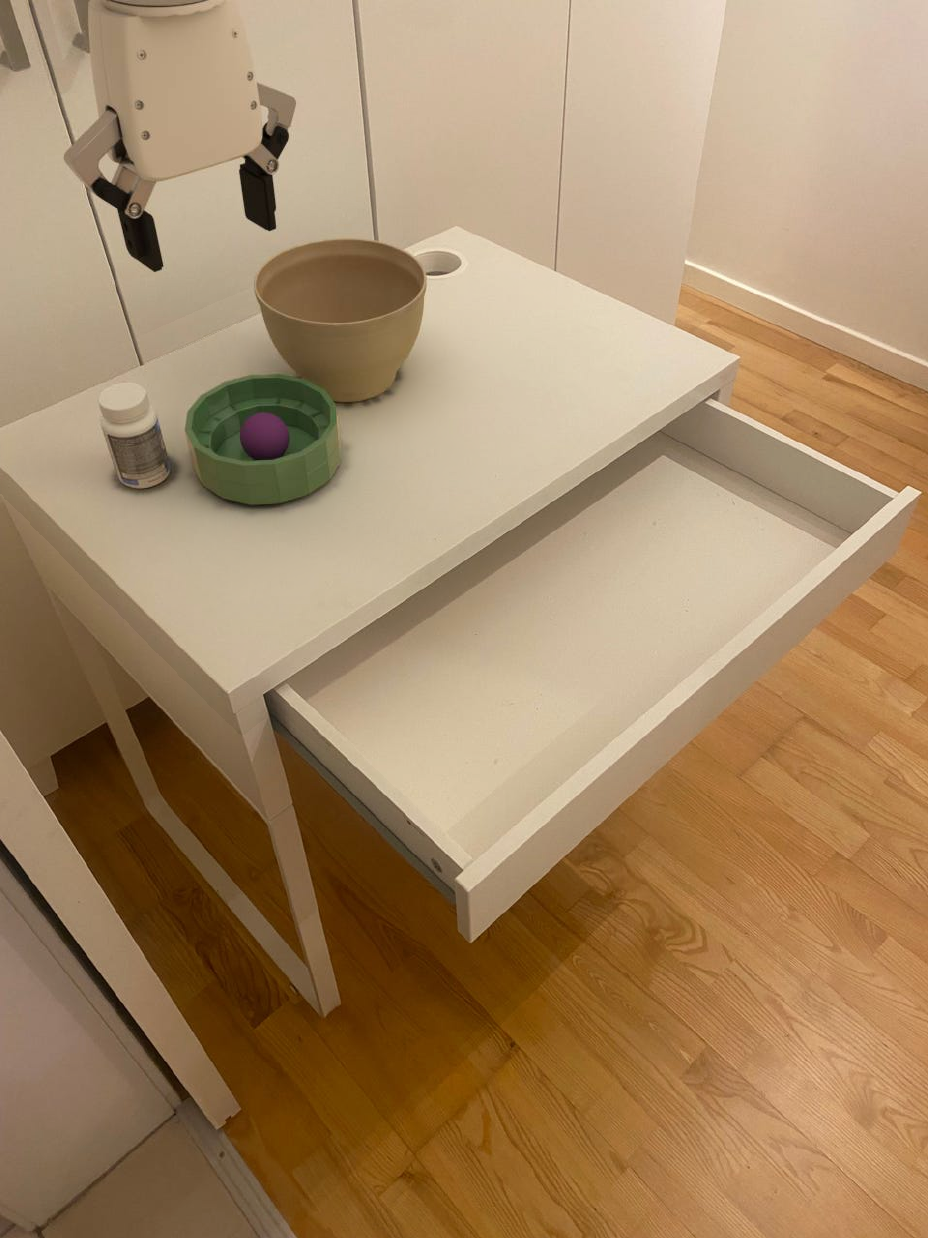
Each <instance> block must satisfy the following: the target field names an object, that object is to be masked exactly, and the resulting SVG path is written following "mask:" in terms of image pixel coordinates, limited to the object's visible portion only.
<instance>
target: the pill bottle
mask: <svg viewBox="0 0 928 1238" xmlns="http://www.w3.org/2000/svg"><path fill="white" fill-rule="evenodd" d="M97 402H98V406H99V409H100V412H101V418H100V427H101V430H102V433H103V436H104V438H105V442H106V445H107V449H108V451H109V453H110V457H111V460H112V463H113V467H114V470H115V472H116V475H117V478H118V479H119V481H120V482H121V484H122V485H125V486H126V487H129V488H132V489H148V488H151V487H154V486H157V485H159V484H161V483H162V482H163V481H165V480H166V479H167V478H168V476H169V475H170V472H171V462H170V458H169V455H168V451H167V448H166V445H165V444H166V443H165V441H164V436H163V433H162V430H161V425H160V422H159V417H158V415H157V414H158V413H157V412H156V410H155V408H154V407H153V406H152V405H150V399H149V397H148V394H147V391H146V390H145V388H144V387H143V386H142V385H141V384H138V383H135V382H127V381H126V382H119V383H114V384H111V385H109V386H107V387H106V388H104V389H103V390H102V391H101V392H100V393H99V395H98V397H97Z"/></svg>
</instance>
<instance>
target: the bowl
mask: <svg viewBox="0 0 928 1238" xmlns="http://www.w3.org/2000/svg"><path fill="white" fill-rule="evenodd" d="M262 412H266V413H271V414H274V415H276V416H278V417H279V418H280V419H281V420H282V421H283V422H284V423H285V424H286V426H287V428H288V431H289V436H290V440H289V445H288V448H287V450H286V452H285V453H284V454H283V455H282V456H281V457H280V458H277V459H274V460H258V461H257V460H255V459H253V458H251V457H250V456H249V455H248V454H247V453H246V452H245V451H244V449H243V447H242V445H241V442H240V431H241V428H242V425H243V424H244V422H245V421H246V420H247V419H248V418H249V417H250V416H252V415H254V414H257V413H262ZM339 427H340V426H339V416H338V407H337V403H335V401H333V400H332V399H331V397H330V396H329V395H328V393H327V392H326V391H325V390H324V389H322V388H320V387H319V386H317V385H315V384H313V383H311V382H309V381H307V380H306V379H302V378H301V377H297V376H292V375H287V374H281V373H271V374H270V373H268V374H267V373H266V374H263V373H262V374H250V375H246V376H241V377H238V378H235V379H231V380H227V381H224V382H222V383H220V384H218V385H215V386H214V387H213V388H211V389H209V390H208V391H206V392H204V393H202V394H201V395H200V396H199V397H198V398H197V399H196V400H195V402H194V403H193V404H192V405H191V407H190V408H189V409H188V410H187V411H186V418H185V426H184V434H185V437H186V442H187V447H188V450H189V454H190V458H191V461H192V467H193V470H194V471H195V473H196V475H197V477H198V479H199V481H200V483H201V484H202V486H203V487H205V488H206V489H208V490H209V491H210V492H212V493H214V494H215V495H217V496H218V497H220V498H222V499H224V500H227V501H228V500H229V501H233V502H237V503H241V504H246V505H253V506H254V505H270V504H271V505H272V504H283V503H285V502H288V501H292V500H294V499H298V498H301V497H305V496H308V495H310V494H312V493H313V492H314V491H316V490H317V489H318V488H320V487H321V486H323V485H324V484H326V483H327V482H328V481H330V480H331V478H332V476H333V475H334V474H335V472H336V470H337V468H338V467H339V465H340V464H341V461H342V460H341V459H342V458H341V456H342V455H341V438H340V437H341V436H340V428H339Z"/></svg>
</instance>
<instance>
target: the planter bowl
mask: <svg viewBox="0 0 928 1238" xmlns="http://www.w3.org/2000/svg"><path fill="white" fill-rule="evenodd" d="M427 285H428V276H427V272H426V269H425V267H424V265H423V264H422V262H421V261H420V260H419V259H418V258H417V257H416V256H414V255H413V254H412V253H410V252H409V251H407V250H406V249H403V248H401V247H399V246H396V245H393V244H390V243H387V242H384V241H380V240H374V239H368V238H357V237H338V238H327V239H320V240H319V239H318V240H314V241H313V240H312V241H308V242H304V243H300V244H298V245H294V246H292V247H289V248H286V249H284V250H282V251H280V252H278V253H276V254H275V255H273V256H272V257H270V258H269V259H267V260H266V261H265V262H264V263H262V264H261V266H260V267H259V269H258V270H257V272H256V274H255V277H254V280H253V288H254V289H253V290H254V295H255V297H256V300H257V303H258V305H259V309H260V312H261V313H260V314H261V316H262V320H263V323H264V326H265V329H266V330H267V331H266V332H267V334H268V337H269V338H270V340H271V342H272V344H273V345H274V347H275V349H276V351H277V353H279V355H280V357H281V358H282V359H283V361H284V362H285V363H286V364H287V365H288V366H289V367H290V368H291V370H292V371H293V372H295V374H296V375H298V376H299V378H302V379H306V380H307V381H309V382H311V383H313V384H315V385H317V386H319V387H320V388H322V389H324V390H325V391H326V392H327V393H328V395H329V396H330V397H331V399H332V400H333V401H334V402H339V403H352V402H361V401H365V400H369V399H372V398H374V397H377V396H379V395H381V394H383V393H384V392H385V391H387V390H388V389H389V388H390V387H391V386H392V385H393V383H394V382H395V379H396V376H397V372H398V371H399V369H400V368H401V367H402V366H403V364H404V363H405V362H406V360H407V358H408V357H409V355H410V353H411V351H412V350H413V348H414V346H415V343H416V341H417V338H418V336H419V333H420V330H421V327H422V321H423V318H424V317H423V315H424V309H425V294H426V291H427Z"/></svg>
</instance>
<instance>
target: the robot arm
mask: <svg viewBox="0 0 928 1238" xmlns="http://www.w3.org/2000/svg"><path fill="white" fill-rule="evenodd" d="M87 27H88V43H89V55H90V58H89V59H90V66H91V74H92V81H93V88H94V89H93V90H94V96H95V102H96V108H97V113H98V119H97V120H95V122H93V124H92V125H91V126H89V128H88V129H86V130H85V131H84V132H83V134H82V135H80V136H79V138H77V140H75V141H74V143H73V144H71V146H70V147H69V148H68V149H67V150H66V151H65V152H64V153H63V161H64V163H65V164H66V165H67V167H68V168H69V169H70V170H71V171H72V172H73V174H74V175H75V176H76V177H77V178H78V179H79V180H80V182H81V183H82V184H83V185H84V187H85V188H86V190H87V191H89V192H90V193H92V194H94V195H95V196H96V197H97V198H99V199H101V200H102V201H103V202H105V203H107V204H109V205H110V206H112V207H114V208H115V209H116V210H117V215H118V219H119V223H120V228H121V232H122V235H123V236H122V237H123V240H124V244H125V248H126V249H127V252H128V254H129V255H130V256H131V258H133V259H135V260H137V261H138V262H139V263H141V264H142V265H143V266H145V267H147V268H148V269H149V270H151V272H153V273H157V272H160V271H162V270H163V268H164V261H163V256H162V251H161V246H160V242H159V237H158V233H157V228H156V224H155V218H154V216H153V215H152V214H151V213H149V212H148V211H146V210H145V209H146V207H147V205H148V202H149V200H150V197H151V195H152V193H153V191H154V189H155V186H156V184H157V183H159V182H165V181H169V180H172V179H175V178H179V177H183V176H185V175H189V174H193V173H195V172H198V171H202V170H205V169H209V168H213V167H215V166H219V165H221V164H224V163H228V162H231V161H234V160H237V159H240V158H242V159H243V160H244V163H241V164H239V169H238V174H239V181H240V188H241V196H242V204H243V210H244V216H245V218H246V219H247V221H249V222H251V223H253V224H255V225H256V226H259V227H260V228H261V229H263V230H265V231H268V232H273V231H274V230H276V229H277V222H276V220H277V219H276V213H275V212H276V211H277V201H276V194H275V192H276V191H275V184H274V175H275V174H276V173H277V172H278V171H279V167H280V161H279V158H280V157H281V155H282V153H283V151H284V150H285V147H286V146H287V144H288V142H289V139H290V133H289V128H291V125H292V122H293V117H294V114H295V110H296V106H297V101H296V99H295V97H294V96H291V95H290V94H288V93H285V92H283V91H281V90H278V89H276V88H273V87H271V86H269V85H265V84H262V83H260V82H257V77H256V72H255V67H254V66H255V65H254V61H253V56H252V53H251V49H250V45H249V40H248V37H247V31H246V29H245V26H244V22H243V19H242V16H241V12H240V9H239V6H238V3H237V0H89V1H88V2H87ZM261 106H263V107H266V108H267V110H268V114H267V122H265V123H264V124H263V118H262V108H261ZM106 154H107V155H108V158H109V159H110V160H111V161H113V163H116V164H118V166H117V167H116V170H115V171H114V174H113V177H112V179H111V182H110V180H108V178H106V177H105V175H104V174H103V173H102V171H101V170H100V167H99V164H100V161H101V160H102V159H103V157H104V156H106Z"/></svg>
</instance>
